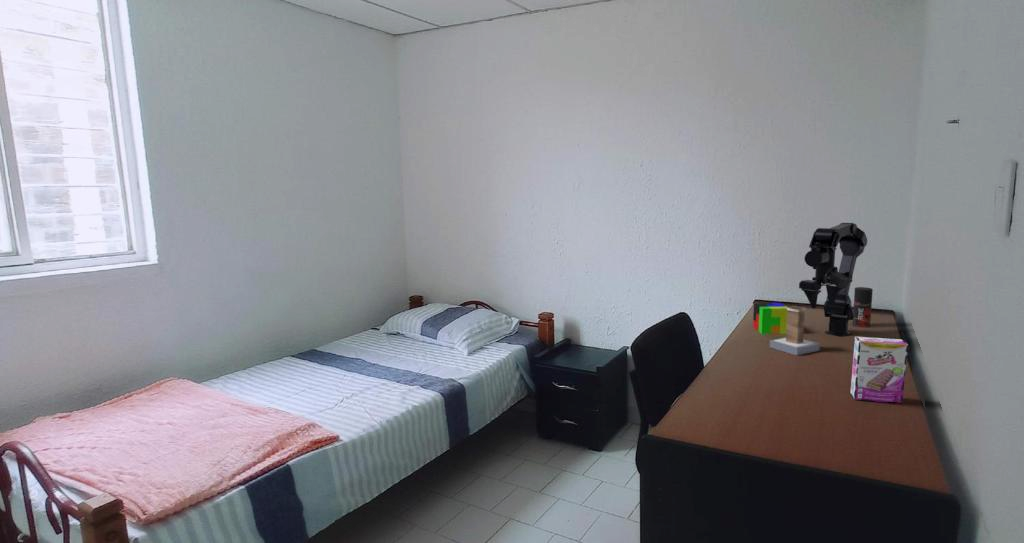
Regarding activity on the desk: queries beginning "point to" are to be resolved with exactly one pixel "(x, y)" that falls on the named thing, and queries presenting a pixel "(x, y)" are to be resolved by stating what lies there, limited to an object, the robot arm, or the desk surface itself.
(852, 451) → the desk surface
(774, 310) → the puzzle toy
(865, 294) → the deodorant
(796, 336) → the beige rectangular block
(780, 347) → the plinth
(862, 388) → the candy bar box
